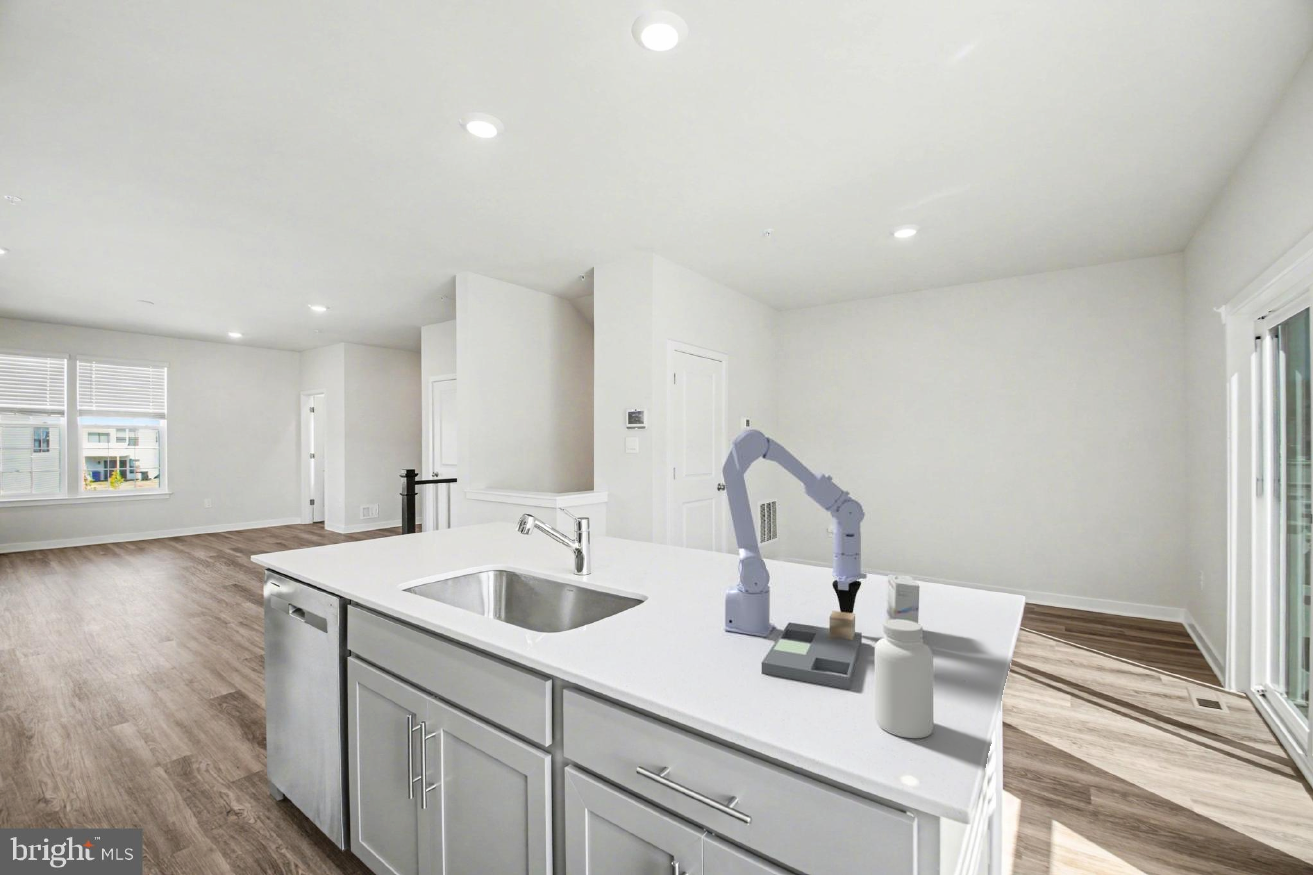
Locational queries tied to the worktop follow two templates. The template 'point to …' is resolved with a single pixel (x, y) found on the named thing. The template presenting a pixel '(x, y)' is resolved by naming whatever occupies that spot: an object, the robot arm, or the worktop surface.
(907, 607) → the ink box
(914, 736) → the pill bottle
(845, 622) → the block
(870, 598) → the worktop surface
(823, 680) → the board
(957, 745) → the worktop surface
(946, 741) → the worktop surface
